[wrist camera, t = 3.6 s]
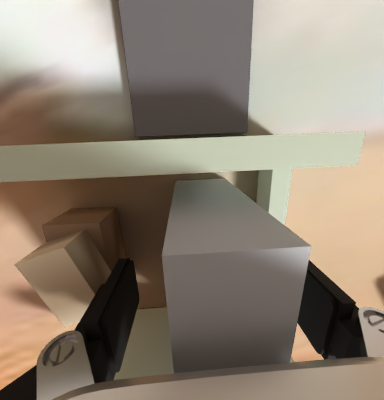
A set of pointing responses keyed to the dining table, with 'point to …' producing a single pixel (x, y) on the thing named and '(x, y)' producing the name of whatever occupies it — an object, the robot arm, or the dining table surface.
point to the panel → (188, 65)
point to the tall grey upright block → (229, 279)
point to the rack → (181, 164)
